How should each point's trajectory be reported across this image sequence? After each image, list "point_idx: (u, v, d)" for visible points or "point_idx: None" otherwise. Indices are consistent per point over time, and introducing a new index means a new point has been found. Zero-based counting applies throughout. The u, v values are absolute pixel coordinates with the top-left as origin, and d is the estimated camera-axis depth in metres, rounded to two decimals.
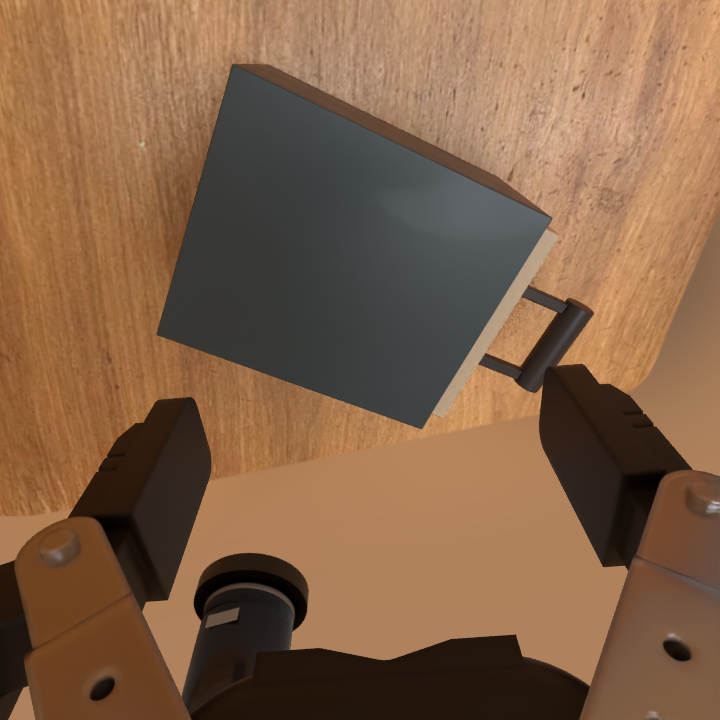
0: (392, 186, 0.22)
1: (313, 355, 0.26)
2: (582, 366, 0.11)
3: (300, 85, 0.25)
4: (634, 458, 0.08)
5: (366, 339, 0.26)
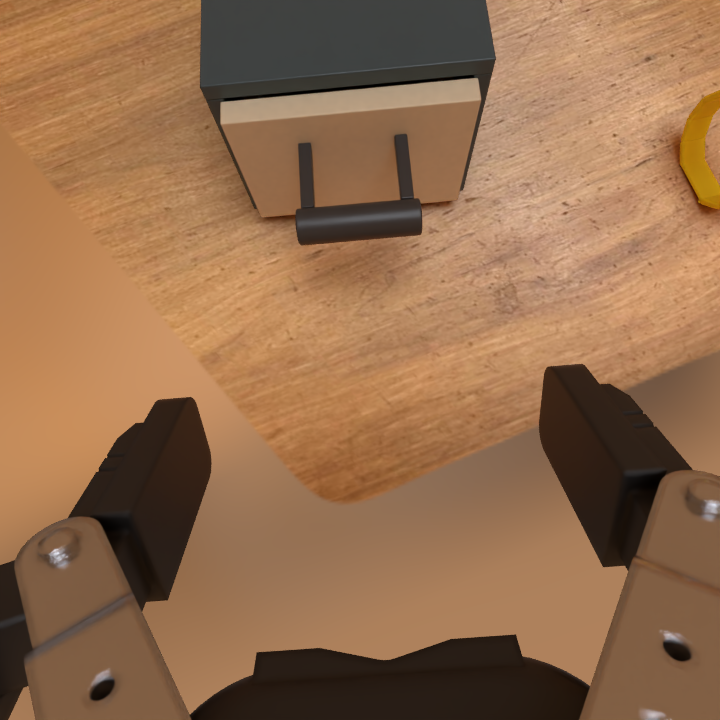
0: None
1: None
2: (582, 366, 0.11)
3: None
4: (634, 458, 0.08)
5: None
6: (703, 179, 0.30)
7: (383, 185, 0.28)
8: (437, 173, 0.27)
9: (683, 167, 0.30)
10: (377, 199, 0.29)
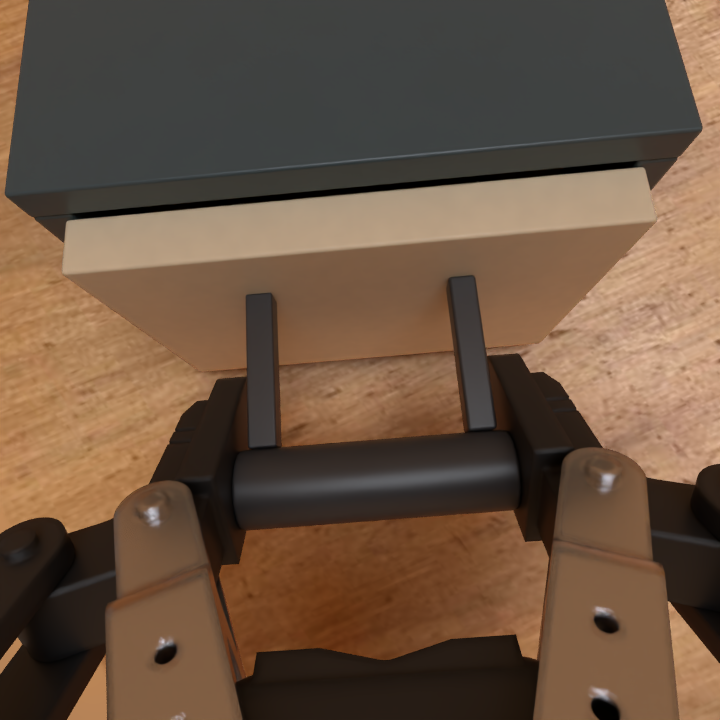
0: None
1: None
2: (517, 355, 0.12)
3: None
4: (547, 438, 0.09)
5: None
6: None
7: (414, 334, 0.15)
8: (516, 319, 0.15)
9: None
10: (401, 348, 0.16)
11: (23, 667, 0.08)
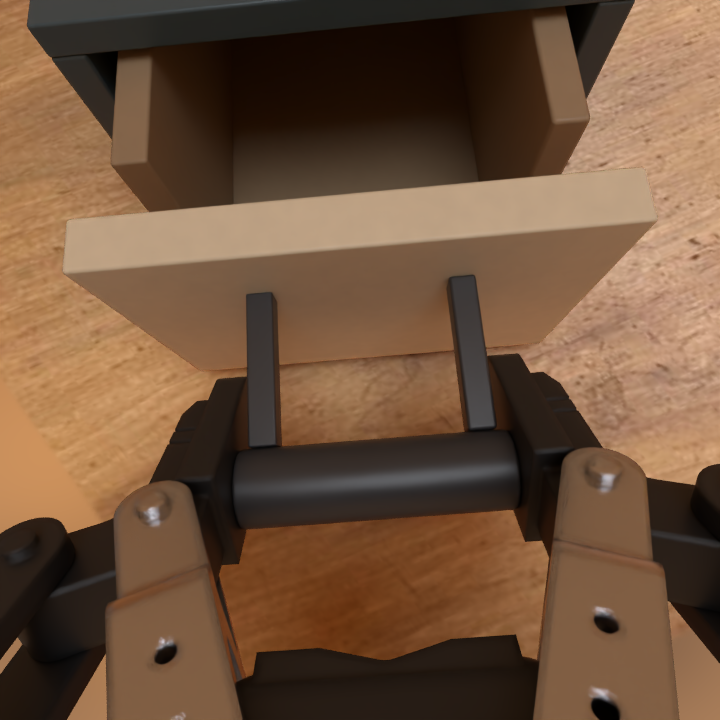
0: None
1: None
2: (517, 355, 0.12)
3: None
4: (547, 438, 0.09)
5: None
6: None
7: (415, 334, 0.15)
8: (517, 318, 0.15)
9: None
10: (402, 347, 0.16)
11: (24, 667, 0.08)
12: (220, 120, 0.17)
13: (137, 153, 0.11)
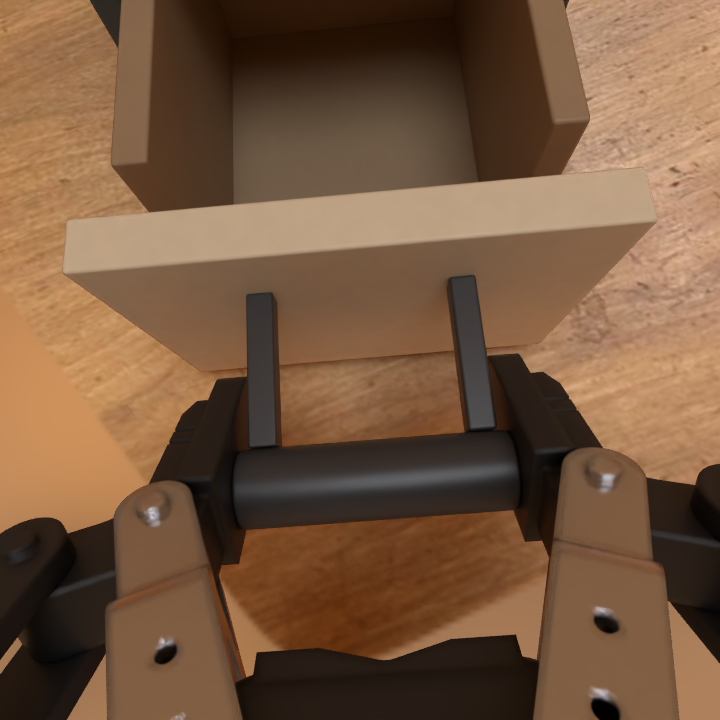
0: None
1: None
2: (517, 355, 0.12)
3: None
4: (547, 438, 0.09)
5: None
6: None
7: (415, 334, 0.15)
8: (517, 319, 0.15)
9: None
10: (402, 348, 0.16)
11: (24, 668, 0.08)
12: (220, 120, 0.17)
13: (137, 153, 0.11)
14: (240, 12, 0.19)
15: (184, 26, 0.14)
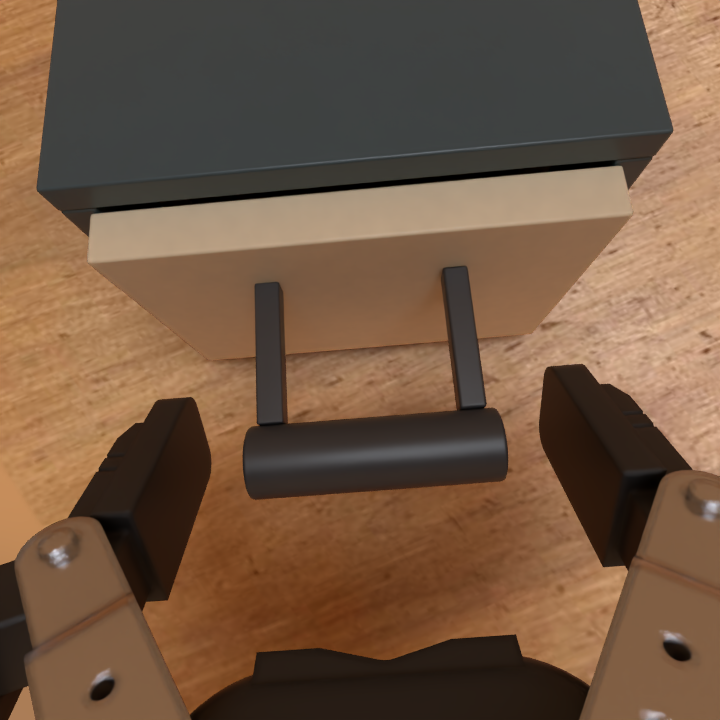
0: None
1: None
2: (581, 366, 0.11)
3: None
4: (634, 458, 0.08)
5: None
6: None
7: (412, 324, 0.16)
8: (509, 309, 0.15)
9: None
10: (400, 337, 0.17)
11: None
12: None
13: None
14: None
15: None
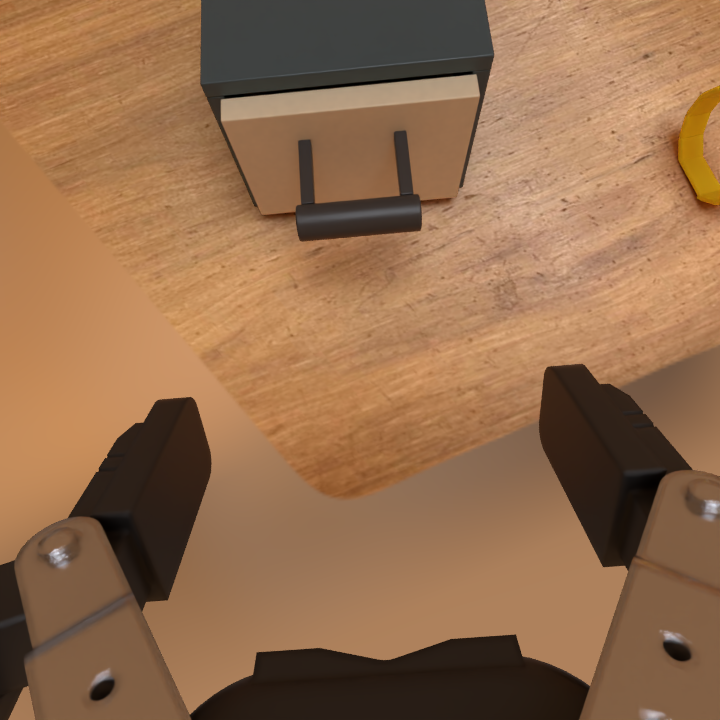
0: None
1: None
2: (581, 366, 0.11)
3: None
4: (634, 458, 0.08)
5: None
6: (701, 175, 0.30)
7: (383, 182, 0.28)
8: (436, 170, 0.27)
9: (681, 163, 0.31)
10: (377, 196, 0.29)
11: None
12: None
13: None
14: None
15: None
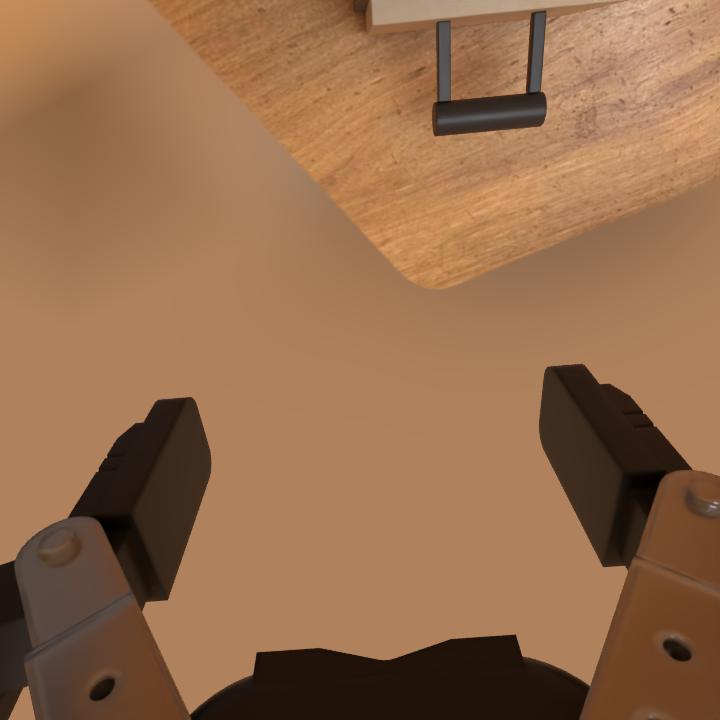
0: None
1: None
2: (581, 366, 0.11)
3: None
4: (634, 458, 0.08)
5: None
6: None
7: (501, 19, 0.28)
8: (559, 13, 0.27)
9: None
10: (489, 22, 0.29)
11: None
12: None
13: None
14: None
15: None
